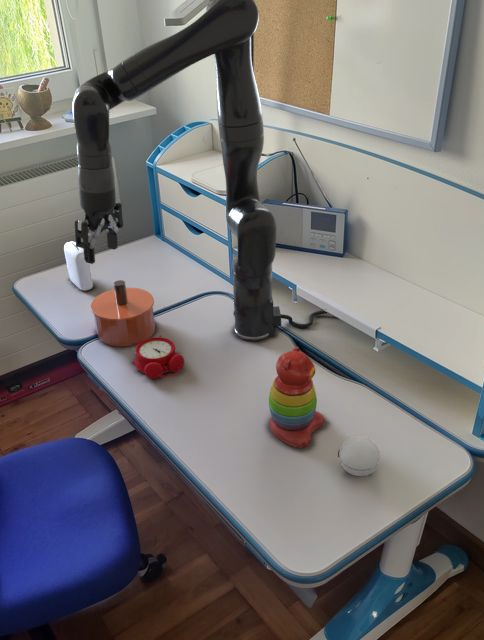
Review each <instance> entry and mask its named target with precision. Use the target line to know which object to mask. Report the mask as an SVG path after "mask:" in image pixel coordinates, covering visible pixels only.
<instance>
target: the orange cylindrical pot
mask: <svg viewBox="0 0 484 640" xmlns="http://www.w3.org/2000/svg"><path fill="white" fill-rule="evenodd" d="M93 319H94V324H95V331H96V335H97V338H98V339H99V340H100V341H101V342H102V343H103V344H106V345H108V346H114V347H129V346H133V345H132V344H134V345H138V344H139V343H140V342H142V341H144V340H146V339H149V338H151V337H152V336H153V334H154V332H155V330H156V322H155V313H154V307H152V308H151V309H150V310H149V311H148V312H147V313H145V314H144V315H142V316H140V317H137V318H134V319H130V320H124V321H108V320H103V319H100V318H98V317H96V316H95V315H94V314H93Z"/></svg>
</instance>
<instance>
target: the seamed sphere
mask: <svg viewBox="0 0 484 640" xmlns="http://www.w3.org/2000/svg"><path fill="white" fill-rule="evenodd" d="M337 457H338V460H339V463H340V465H341V466H342V468H343V469H344V471H346V472H347V473H348V474H349V475H352V476H355V477H366V476H368V475H371V474H372V473H374V471H375V470H376V469H377V468H378V467H379V464H380V460H381V455H380V450H379V447H378V445H377V444H376V442H375V441H373V440H372V439H371V438H369V437H367V436H364V435H354V436H351V437H348V438H347V439H345V440H344V442H343V443H342V444H341V446H340V448H339V449H338V452H337Z"/></svg>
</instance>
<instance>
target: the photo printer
mask: <svg viewBox="0 0 484 640" xmlns="http://www.w3.org/2000/svg"><path fill="white" fill-rule="evenodd" d="M63 252H64V258H65V262H66V267H67V268H66V269H67V273H68V277H69V280H70V281H71V283H73V285H75V286H76V287H77V288H78V289H79V290H81V291H89V290H91V289H92V288H93V287H94V283H93V282H94V281H93V278H92V272H91V266H90V265H91V264H90V263H87V262H86V261H85V260H84V249H83V248H80V247H77V246H76V241H73V240H71V241H69V242H68V241H67V242H66V243H65V244H64V246H63Z"/></svg>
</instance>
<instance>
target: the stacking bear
mask: <svg viewBox="0 0 484 640" xmlns="http://www.w3.org/2000/svg"><path fill="white" fill-rule="evenodd" d="M275 364H276V365H275V370H276V375H277V376H276V377H275V378H274V379H273V381H272V383H271V386H270V390H269V394H268V407H269V408H268V409H269V412H270V416H271V417H270V419H269V420H270V421H269V428H270V431H271V432H272V434H273V435H274V436H275V437H276V438H277V439H278V440H280V441H281V442H282V443H284V444H287V445H289V446H291V447H294V448H297V449H303V448H307V447H308V446H310V444H311V443H312V438H311V436H312V434H313V432H314V431H316V430H319V429H320V428H322V427H324V424H325V422H326V420H325V417H324V415H323V414H322V413H321V412H319V411H317V403H318V397H317V393H316V388H315V384H314V380H313V378H314V376H315V374H316V367H315V364H314V362H313V361H312V359H311V358H310V357H309V356H308V355H307V354H306V353H304V352H302V351H301V350H300V347H299V346H296V347H293V348H292V350H288V351H286V352H284V353H282V354H281V355H280V356H279V357H278V359H277V361H276V363H275Z"/></svg>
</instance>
